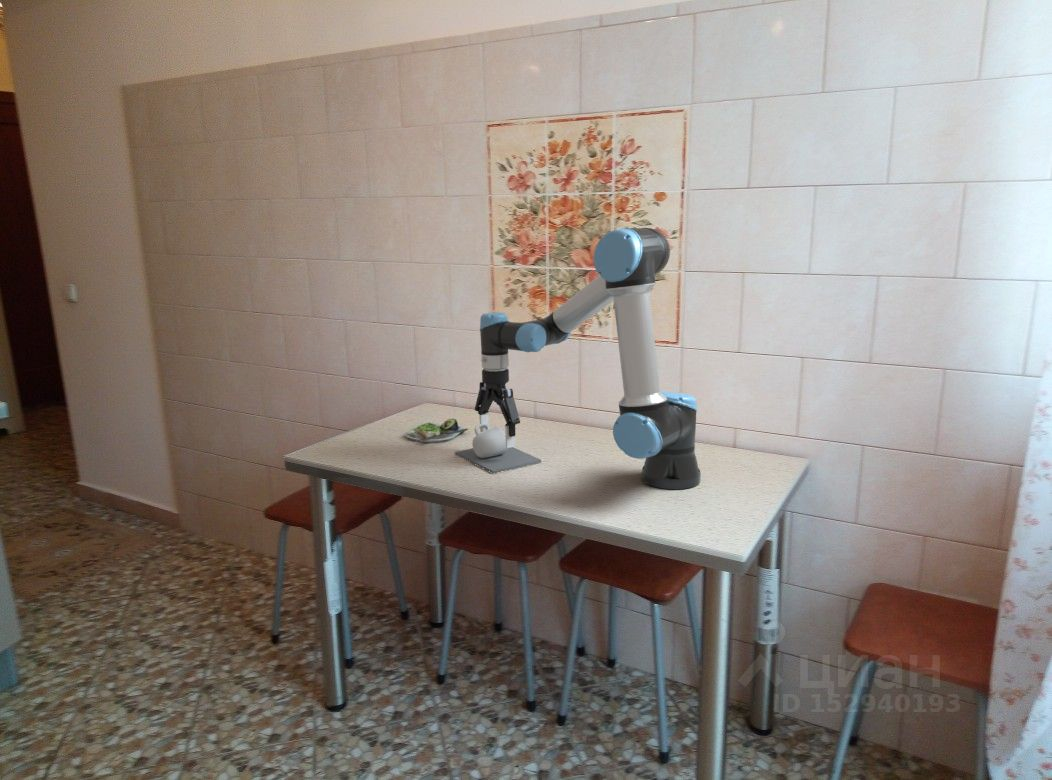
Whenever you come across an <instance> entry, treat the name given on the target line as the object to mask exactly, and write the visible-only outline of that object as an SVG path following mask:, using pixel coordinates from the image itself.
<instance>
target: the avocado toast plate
mask: <svg viewBox="0 0 1052 780" xmlns="http://www.w3.org/2000/svg"><path fill="white" fill-rule="evenodd" d="M468 430H469V428H463V427H462V426H461V425H459V423H458V421H457V419H456V418H449V419H447V420H444V422H442V423H434V422H432V423H431V422H427V423H426V422H425V423H422V424H419V425H417V426H416V427H414V428H411V429H410V430H408V431H406V432H405V433H404V435H405V437H406V438H407V439H408V440H410V441H413V442H416V441H417V442H418V443H424V442H425V444H427V443H428V444H429V443H430V444H432V443H431V442H434V443H443V442H448V440H449V441H451V440H453V439H454V437H455V438H456V436H457V437H458V435H459V436H460V435H462V434H463V433H465V432H467V431H468ZM417 434H420V435H422V437H423V438H420V437H415V436H416V435H417ZM442 441H443V442H442Z"/></svg>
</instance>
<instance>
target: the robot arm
mask: <svg viewBox="0 0 1052 780" xmlns="http://www.w3.org/2000/svg"><path fill="white" fill-rule="evenodd" d="M670 255H671V248H670V243H669V241H668V239H667V238H666V236H665V235H664V234H663V233H662V232H660V231H659V230H657V229H654V228H650V227H640V228H639V227H638V228H637V227H635V228H634V227H633V228H632V227H630V228H628V227H627V228H626V227H625V228H618V229H614V230H610V231H609V232H606V233H605V234H604V235H603V236H602V237H601V238H600V239H599V241H597V243H596V245H595V249H594V252H593V265H594V268H595V271H596V273H597V274H598V276H597V277H596V278H594V279H593V280H592V281H590V282H589V283H588V284H587V285H585V286H584V287H583V288H582V289H580V290H579V291H578V292H577V293H575V294H574V295H573V296H571V297H570V298H569V299H567V300H566V301H565V302H564V303H562V304H561V305H560V306H559V307H557V308H556V309H555V310H554V311H553V312H551V313H550V314H548V315H547V316H546V317H544V318H539V319H535V320H529V321H525V322H518V321H517V322H515V321H509V319H508V315H507V314H506V312H487V313H483V314H482V315H481V316H480V320H479V321H480V322H479V323H480V324H479V326H480V327H479V334H480V350H481V351H480V352H481V354H480V355H481V358H480V359H481V360H480V361H481V368H483V369H482V370H481V381H480V382H479V390H478V394H477V399H476V402H475V405H474V411H475V412H477V413H478V415H479V424H482V423H484V424H487V425H488V426H489V427H490V412H489V410H490V408H491V406H492V403H493V402H494V403H495V404H496V405H497V406H499V409H500V411H501V413H502V416H503V418H504V420H505V422H506V423H505V424H504V429H505V430H504V434H505V438H506V448H511V447H514V448H516V425H519V424H521V419H520V416H519V413H518V412H519V411H518V410H517V409H518V408H517V406H516V402H515V401H516V400H515V398H514V390H513V389H512V388H507V386H506V384H507V383H509V381H510V371H509V366H510V364H509V362H510V360H509V359H510V358H509V350H510V351H517V352H518V351H519V352H525V353H538V352H540V351H541V350H542V349H543V348H544V347H547V346H551V345H555V344H556V345H557V344H560V343H563V342H565V341H566V340H568V339H569V338H570V337H571V333H572V332H573V331H574V330H576V329H578V328H579V327H580V326H581V325H583V324H584V323H586V322H587V321H588V320H589V319H591V318H592V317H594V316H595V315H597V313H599V312H600V311H602V310H603V309H604V308H606V307H607V306H608V305H610V304H611V303H612V302H613V305H614V314H615V322H616V323H615V324H616V326H615V327H616V333H617V343H618V351H619V360H620V370H621V379H622V387H623V396H622V398H621V399H620V400H619V401H618V408H619V416H618V417H617V418H616V420H615V422H614V424H613V426H612V435H613V439H614V442H615V444H616V446H617V447H618V448H619V449H620V451H622V452H623V453H624V454H625V455H626V456H627V457H628V456H629V457H631V458H634V459H636V460H638V459H639V460H643V459H645V461H644V464H643V466H642V468H641V480H642V481H643V483H644V484H647V485H649V486H651V487H655V488H660V489H665V490H666V489H667V490H685V489H690V488H694V487H696V486H698V485H699V484H700V483H701V475H702V474H701V469H700V468H699V464H698V460H697V456H696V447H695V446H696V430H697V429H696V428H697V427H696V426H697V411H698V409H697V399H696V398H695V397H694V396H693V395H691V394H687V393H681V392H673V391H661V388H660V378H659V377H660V376H659V370H658V361H657V350H656V342H655V341H656V340H655V330H654V321H653V319H654V318H653V311H652V301H651V291H652V289H654V287H655V285H656V275H658V274H659V273H661V272H662V271H663V270H664V269H665V267H666V266H667V265H668V263H669V261H670V260H669V259H670ZM479 430H480V431H479V432H485V431H486V429H485V428H484V427H481V428H479Z"/></svg>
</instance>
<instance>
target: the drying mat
mask: <svg viewBox="0 0 1052 780" xmlns="http://www.w3.org/2000/svg"><path fill="white" fill-rule="evenodd" d="M454 454H456V456H457V455H458V456H457V457H459V456H460V457H459V458H461V457H462V458H461V459H463V458H464V459H463V460H465V459H466V460H465V461H467V460H468V461H467V462H469V461H470V462H469V463H471V462H472V463H471V464H473V463H474V464H473V465H475V464H476V465H475V466H477V465H478V466H480V467H481V468H480V467H479V468H480V469H482V468H484V469H485V470H484V469H483V470H484V471H486V470H487V471H486V472H488V471H490V472H492V473H495V474H498V473H497V472H500V473H502V472H501V471H504V472H506V471H505V470H508V471H510V470H509V469H512V470H515V468H516V469H519V467H520V468H524V467H528V466H527V465H529V466H533V465H536V463H537V464H540V463H542V459H541V458H538V457H536V456H534V455H532V454H529V453H527V452H526V451H525V452H524V451H523V450H520V449H517V448H516V447H511V448H508V449H507V451H506V453H504V454H501V455H496V456H492V457H487V458H480V457H478V456H477V455H476V454H475V452H474V449H473V447H471V448H467V449H463V450H458V451H454ZM532 464H533V465H532ZM478 466H477V467H478ZM523 466H524V467H523ZM490 472H489V473H490ZM492 473H491V474H492Z"/></svg>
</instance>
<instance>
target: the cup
mask: <svg viewBox="0 0 1052 780" xmlns="http://www.w3.org/2000/svg"><path fill="white" fill-rule="evenodd" d="M481 427H484V428H485V429H486V431H485V432H480V431H479V429H480V428H481ZM474 434H475V436H474V437H473V439H472V442H471V443H472V448H473V449H474V452H475V454H476V455H477V456H478V457H480V458H487V457H492V456H496V455H501V454H504V453H506V451H507V449H508V448H506V438H505V431H503V429H502V428H501V427H498V426H497V427H496V426H495V427H493V428H491V427H490V425H489V426H488V425H487V424H484V423H482V424H480V423H478V424H477V425H476V426H475V428H474Z"/></svg>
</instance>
